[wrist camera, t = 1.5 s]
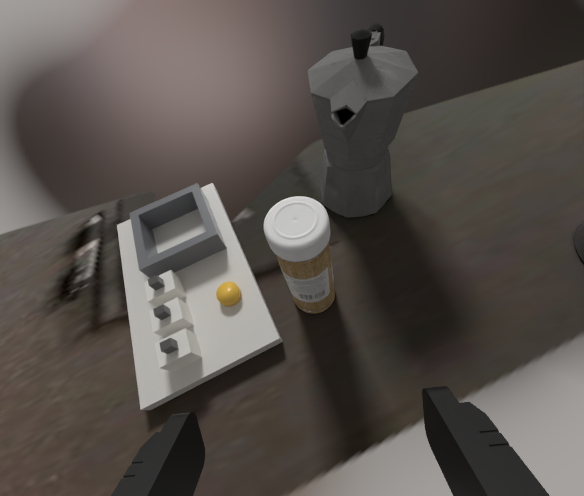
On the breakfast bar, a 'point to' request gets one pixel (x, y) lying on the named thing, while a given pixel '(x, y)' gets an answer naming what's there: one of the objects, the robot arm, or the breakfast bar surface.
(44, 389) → the breakfast bar surface
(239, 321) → the breaker panel
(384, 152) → the coffeepot
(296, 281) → the sprinkles bottle
